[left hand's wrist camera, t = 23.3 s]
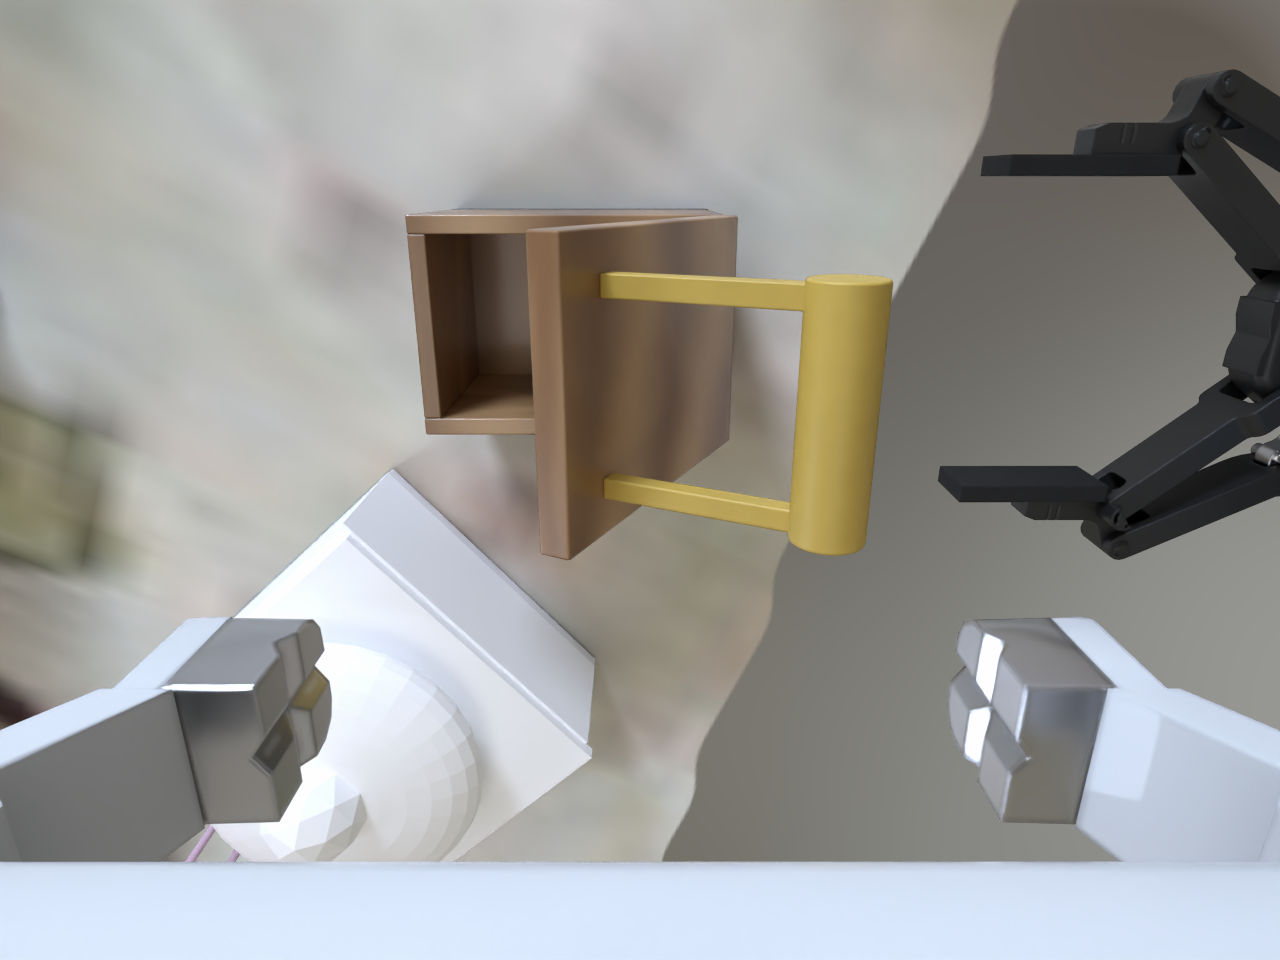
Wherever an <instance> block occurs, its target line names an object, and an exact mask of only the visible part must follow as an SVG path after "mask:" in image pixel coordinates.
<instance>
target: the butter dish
mask: <svg viewBox="0 0 1280 960" xmlns="http://www.w3.org/2000/svg"><path fill="white" fill-rule="evenodd" d="M234 618H275V619H313V620H314V621H315V622H316V623H317V624H318V625H319V626H320V628H321V634H322V639H323V644H324V649H325V651H324V652H323V654H322V655H321V657H320V658H319V660H318V662H317V663H316V665H315V666H316V667H317V668H318V669H319V670H320V671H321V672H322V674H323V675H324V676H325V677H326V678H327V679H328V680H329V681H330V687H331V695H332V717H331V722H330V726H329V730H328V734H327V738H326V741H325V743H324V744H323V746H322V748H321V750H320V752H319V754H318V756H316V757H315V758H313V759H312V760H310V761H309V762H307V763H305V764H304V765H302V766H301V773H302V779H303V782H302V784H301V786H300V787H299V789H298V791H297V793H296V794H295V796H294V798H293V799H292V801H291V803H290V805H289V806H288V808H287V810H286V812H285V813H284V815H283V817H282V819H281V820H280V822H267V823H232V824H211V825H212V827H213V828H214V829H215V830H216V831H217V833H218V834H219V835H220V836H221V837H222V839H223V840H224V841H225V842H226V843H228V844H229V845H230V846H231V847H232V848H233V849H235V850H236V851H237V852H238V853H239V854H240V855H242V856H243V857H244V858H246V859H247V860H249V861H251V862H454V861H455V860H457V859H458V858H459V857H461V856H462V855H463V854H465V853H466V852H467V851H469V850H470V849H471V848H473V847H474V846H475V845H477V844H478V843H479V842H481V841H482V840H483V839H485V838H486V837H487V836H489V835H490V834H491V833H493V832H494V831H495V830H497V829H498V828H499V827H501V826H502V825H503V824H505V823H506V822H507V821H509V820H510V819H511V818H513V817H514V816H515V815H517V814H518V813H519V812H521V811H522V810H523V809H525V808H526V807H527V806H529V805H530V804H531V803H533V802H534V801H535V800H537V799H538V798H539V797H541V796H542V795H543V794H545V793H546V792H547V791H549V790H550V789H551V788H553V787H554V786H555V785H557V784H558V783H559V782H560V781H562V780H563V779H564V778H566V777H567V776H568V775H570V774H571V773H572V772H574V771H575V770H576V769H578V768H579V767H580V766H582V765H583V764H584V763H586V762H587V761H588V760H590V759H591V758H592V748H591V747H589V746H588V745H587V744H586V743H588V734H589V723H590V712H591V702H592V691H593V680H594V669H595V658H594V657H592V656H591V655H590V654H589V653H588V652H587V651H586V650H585V649H584V648H583V647H582V646H581V645H580V644H579V643H578V642H577V641H575V640H574V639H573V638H572V637H571V636H570V635H569V634H568V633H567V632H566V631H565V630H564V629H563V628H562V627H561V626H559V625H558V624H557V623H556V622H555V621H554V620H553V619H552V618H551V617H550V616H549V615H548V614H547V613H546V612H545V611H544V610H542V609H541V608H540V607H539V606H538V605H537V604H536V603H535V602H534V601H533V600H532V599H531V598H530V597H529V596H528V595H526V594H525V593H524V592H523V591H522V590H521V589H520V588H519V587H518V586H517V585H516V584H515V583H514V582H513V581H512V580H511V579H509V578H508V577H507V576H506V575H505V574H504V573H503V572H502V571H501V570H500V569H499V568H498V567H497V566H496V565H495V564H493V563H492V562H491V561H490V560H489V559H488V558H487V557H486V556H485V555H484V554H483V553H482V552H481V551H480V550H479V549H478V548H476V547H475V546H474V545H473V544H472V543H471V542H470V541H469V540H468V539H467V538H466V537H465V536H464V535H463V534H462V533H460V532H459V531H458V530H457V529H456V528H455V527H454V526H453V525H452V524H451V523H450V522H449V521H448V520H447V519H446V518H445V517H443V516H442V515H441V514H440V513H439V512H438V511H437V510H436V509H435V508H434V507H433V506H432V505H431V504H430V503H429V502H428V501H426V500H425V499H424V498H423V497H422V496H421V495H420V494H419V493H418V492H417V491H416V490H415V489H414V488H413V487H412V486H410V485H409V484H408V483H407V482H406V481H405V480H404V479H403V478H402V477H401V476H400V475H399V474H398V473H397V472H396V471H395V470H393V469H392V470H391V471H390V472H389V473H387V474H386V475H384V476H383V477H382V478H381V480H380V481H379V482H378V483H377V484H376V485H375V486H374V487H373V488H372V489H371V490H370V491H368V492H367V493H366V494H365V495H364V496H363V497H362V498H361V499H360V500H359V501H358V502H357V503H356V504H355V505H354V506H352V507H351V508H350V509H349V510H348V511H347V512H346V513H345V514H344V515H343V516H342V517H341V518H340V519H339V520H338V521H336V522H335V523H334V524H333V525H332V526H331V527H330V528H329V529H328V530H327V531H326V532H325V533H324V534H323V535H322V536H320V537H319V538H318V539H317V540H316V541H315V542H314V543H313V544H312V545H311V546H310V547H309V548H308V549H307V550H306V551H304V552H303V553H302V554H301V555H300V556H299V557H298V558H297V559H296V560H295V561H294V562H293V563H292V564H291V565H290V566H288V567H287V568H286V569H285V570H284V571H283V572H282V573H281V574H280V575H279V576H278V577H277V578H276V579H275V580H274V581H272V582H271V583H270V584H269V585H268V586H267V587H266V588H265V589H264V590H263V591H262V592H261V593H260V594H259V595H258V596H256V597H255V598H254V599H253V600H252V601H251V602H250V603H249V604H248V605H247V606H246V607H245V608H244V609H243V610H242V611H240V612H239V613H238V614H237V615H236V616H235V617H234Z"/></svg>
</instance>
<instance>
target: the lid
mask: <svg viewBox="0 0 1280 960" xmlns="http://www.w3.org/2000/svg"><path fill="white" fill-rule="evenodd" d="M737 224H738V217H737V216H736V215H710V216H697V217H683V218H670V219H657V220H644V221H630V222H617V223H604V224H590V225H577V226H564V227H551V228H537V229H528V230H527V231H526V252H527V274H528V295H529V316H530V337H531V359H532V380H533V401H534V423H535V444H536V465H537V487H538V508H539V529H540V550H541V554H543V555H547V556H552V557H556V558H561V559H565V560H571V559H572V558H573V557H575V556H576V555H577V554H579V553H580V552H581V551H583V550H584V549H585V548H587V547H588V546H589V545H591V544H592V543H593V542H595V541H596V540H597V539H599V538H600V537H601V536H603V535H604V534H605V533H606V532H608V531H609V530H610V529H612V528H613V527H614V526H616V525H617V524H618V523H620V522H621V521H622V520H624V519H625V518H626V517H628V516H629V515H630V514H632V513H633V512H634V511H636V510H637V509H638V508H639V507H641V506H648V507H653V508H658V509H664V510H669V511H675V512H680V513H686V514H691V515H697V516H702V517H707V518H713V519H718V520H724V521H729V522H735V523H740V524H746V525H751V526H756V527H762V528H767V529H773V530H778V531H784V532H788V538H789V540H790V542H791V543H792V544H793V545H795V546H796V547H798V548H800V549H802V550H805V551H808V552H811V553H815V554H821V555H847V554H852V553H855V552H858V551H859V550H861V549H862V548H863V547H864V545H865V543H866V534H867V525H868V515H869V506H870V496H871V487H872V477H873V468H874V458H875V449H876V439H877V430H878V421H879V411H880V402H881V392H882V383H883V374H884V364H885V355H886V345H887V336H888V326H889V317H890V308H891V298H892V289H893V281H892V280H891V279H889V278H886V277H880V276H871V275H855V274H826V275H814V276H810V277H807V278H806V280H805V281H798V280H778V279H757V278H736V277H735V275H736V250H737ZM734 307H744V308H760V309H775V310H791V311H803V321H802V336H801V350H800V365H799V379H798V394H797V408H796V423H795V437H794V452H793V466H792V480H791V495H790V502H785V501H779V500H773V499H767V498H761V497H755V496H749V495H743V494H737V493H731V492H725V491H719V490H713V489H707V488H701V487H695V486H689V485H683V484H677V483H673V482H674V481H675V480H676V479H678V478H679V477H680V476H682V475H683V474H684V473H686V472H687V471H688V470H690V469H691V468H692V467H694V466H695V465H696V464H698V463H699V462H700V461H702V460H703V459H704V458H706V457H707V456H708V455H710V454H711V453H712V452H713V451H715V450H716V449H717V448H719V447H720V446H721V445H723V444H724V443H725V442H727V441H728V440H729V425H730V400H731V375H732V350H733V325H734Z"/></svg>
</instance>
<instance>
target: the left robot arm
mask: <svg viewBox="0 0 1280 960" xmlns="http://www.w3.org/2000/svg"><path fill="white" fill-rule="evenodd" d="M324 651H325V649H324V644H323V639H322V634H321V628H320V626H319V625H318V624H317V623H316V622H315V621H314V620H313V619H275V618H232V617H210V618H193V619H187V620H186V621H185V622H184V623H182V624H181V625H180V626H179V627H178V628H177V629H176V630H175V631H174V632H173V633H172V634H171V635H170V636H169V637H168V638H166V639H165V640H164V641H163V642H162V643H161V644H160V645H159V646H158V647H157V648H156V649H155V650H154V651H153V652H152V653H150V654H149V655H148V656H147V657H146V658H145V659H144V660H143V661H142V662H141V663H140V664H139V665H138V666H137V667H136V668H134V669H133V670H132V671H131V672H130V673H129V674H128V675H127V676H126V677H125V678H124V679H123V680H122V681H121V682H120V683H118V684H117V685H116V686H115V687H114V688H113V689H98V690H95V691H93V692H91V693H88V694H86V695H83V696H81V697H79V698H76V699H74V700H71V701H69V702H67V703H64V704H62V705H59V706H57V707H55V708H52V709H50V710H47V711H45V712H43V713H40V714H38V715H35V716H33V717H31V718H28V719H26V720H24V721H21V722H19V723H16V724H14V725H12V726H9V727H7V728H4V729H2V730H0V960H1280V730H1278V729H1275V728H1273V727H1271V726H1268V725H1266V724H1263V723H1261V722H1259V721H1256V720H1254V719H1251V718H1249V717H1247V716H1244V715H1242V714H1240V713H1237V712H1235V711H1232V710H1230V709H1228V708H1225V707H1223V706H1220V705H1218V704H1216V703H1213V702H1211V701H1209V700H1206V699H1204V698H1201V697H1199V696H1197V695H1194V694H1192V693H1189V692H1187V691H1185V690H1182V689H1167V688H1166V687H1165V686H1164V685H1163V684H1162V683H1161V682H1159V681H1158V680H1157V679H1156V678H1155V677H1154V676H1153V675H1152V674H1151V673H1150V672H1149V671H1148V670H1147V669H1146V668H1145V667H1144V666H1142V665H1141V664H1140V663H1139V662H1138V661H1137V660H1136V659H1135V658H1134V657H1133V656H1132V655H1131V654H1130V653H1129V652H1127V651H1126V650H1125V649H1124V648H1123V647H1122V646H1121V645H1120V644H1119V643H1118V642H1117V641H1116V640H1115V639H1114V638H1113V637H1112V636H1111V635H1109V634H1108V633H1107V632H1106V631H1105V630H1104V629H1103V628H1102V627H1101V626H1100V625H1099V624H1098V623H1097V622H1096V621H1095V620H1092V619H1089V618H1086V617H1066V618H1023V619H982V620H967V621H963V623H962V626H961V628H960V630H959V632H958V637H957V643H956V649H955V651H956V652H957V654H958V655H959V657H960V658H961V660H962V662H963V663H964V665H965V666H964V667H963V668H962V669H961V670H960V671H959V672H958V674H957V675H956V676H955V677H954V678H953V679H952V680H951V681H950V689H949V697H948V712H949V723H950V728H951V731H952V734H953V737H954V740H955V743H956V745H957V746H958V748H959V750H960V752H961V754H962V756H964V757H965V758H967V759H968V760H970V761H971V762H973V763H975V764H976V765H978V766H979V773H978V779H977V782H978V784H979V786H980V787H981V789H982V791H983V792H984V794H985V796H986V798H987V799H988V801H989V803H990V805H991V806H992V808H993V810H994V812H995V813H996V815H997V817H998V818H999V820H1000V822H1011V823H1047V824H1076V825H1075V828H1076V829H1078V830H1079V831H1080V832H1082V833H1083V834H1084V835H1085V836H1087V837H1088V838H1089V839H1091V840H1092V841H1093V842H1095V843H1096V844H1097V845H1099V846H1100V847H1101V848H1103V849H1104V850H1105V851H1107V852H1108V853H1109V854H1110V855H1112V856H1113V857H1115V858H1116V859H1117V860H1119V861H1120V862H161V861H162V860H163V859H165V858H166V857H167V856H168V855H170V854H171V853H172V852H174V851H175V850H176V849H178V848H179V847H180V846H182V845H183V844H184V843H186V842H187V841H188V840H190V839H191V838H192V837H194V836H195V835H196V834H197V833H199V832H200V831H201V830H203V829H204V828H205V826H204V824H232V823H267V822H280V820H281V819H282V817H283V815H284V813H285V812H286V810H287V808H288V806H289V805H290V803H291V801H292V799H293V798H294V796H295V794H296V793H297V791H298V789H299V787H300V786H301V784H302V782H303V779H302V773H301V766H302V765H304V764H305V763H307V762H309V761H310V760H312V759H313V758H315V757H316V756H318V754H319V752H320V750H321V748H322V746H323V744H324V743H325V741H326V738H327V734H328V730H329V726H330V722H331V717H332V695H331V687H330V681H329V680H328V679H327V678H326V677H325V676H324V675H323V674H322V672H321V671H320V670H319V669H318V668H317V667H316V666H315V665H316V663H317V662H318V660H319V658H320V657H321V655H322V654H323V652H324Z"/></svg>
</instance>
